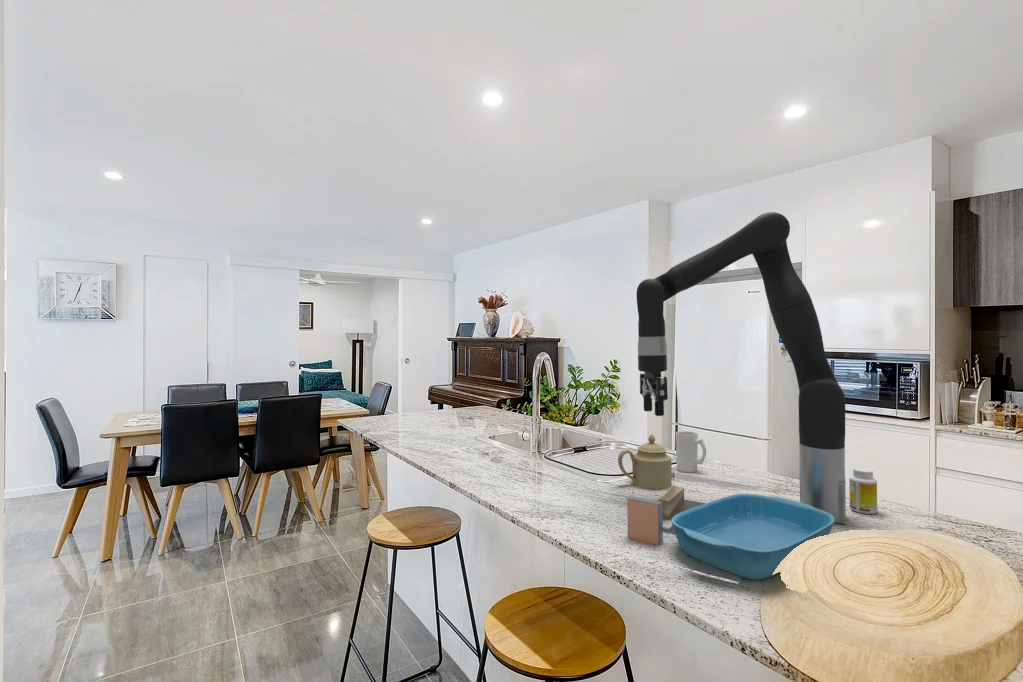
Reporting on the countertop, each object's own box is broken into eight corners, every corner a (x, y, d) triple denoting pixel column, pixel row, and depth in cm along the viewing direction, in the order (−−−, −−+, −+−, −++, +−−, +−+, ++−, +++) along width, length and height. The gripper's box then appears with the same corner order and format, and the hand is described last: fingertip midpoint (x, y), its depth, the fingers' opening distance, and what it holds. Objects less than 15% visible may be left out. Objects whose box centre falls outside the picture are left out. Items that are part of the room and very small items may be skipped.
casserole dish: (747, 514, 121) (747, 485, 121) (851, 545, 103) (851, 511, 103) (651, 555, 99) (650, 520, 99) (761, 604, 81) (760, 561, 81)
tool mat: (710, 506, 126) (710, 504, 126) (681, 538, 107) (681, 536, 107) (663, 497, 133) (663, 495, 133) (629, 526, 114) (629, 524, 114)
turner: (691, 508, 123) (691, 488, 123) (669, 531, 109) (669, 509, 109) (667, 504, 127) (667, 484, 127) (643, 525, 113) (643, 503, 113)
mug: (671, 469, 160) (671, 433, 160) (683, 466, 164) (683, 430, 164) (700, 476, 152) (700, 437, 152) (711, 472, 156) (711, 434, 156)
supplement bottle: (882, 512, 120) (882, 470, 120) (868, 516, 118) (868, 473, 118) (858, 505, 125) (857, 465, 125) (844, 509, 123) (844, 468, 123)
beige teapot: (647, 496, 134) (646, 442, 134) (616, 487, 143) (615, 435, 143) (679, 486, 143) (679, 434, 143) (648, 477, 152) (647, 429, 152)
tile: (662, 543, 104) (662, 501, 104) (659, 547, 103) (658, 504, 102) (631, 536, 108) (630, 495, 108) (627, 539, 107) (626, 498, 106)
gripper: (676, 354, 126) (677, 417, 126) (656, 352, 140) (657, 409, 140) (647, 354, 126) (649, 418, 126) (630, 353, 140) (631, 410, 140)
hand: (653, 413), depth 133 cm, fingers open, 8 cm apart
